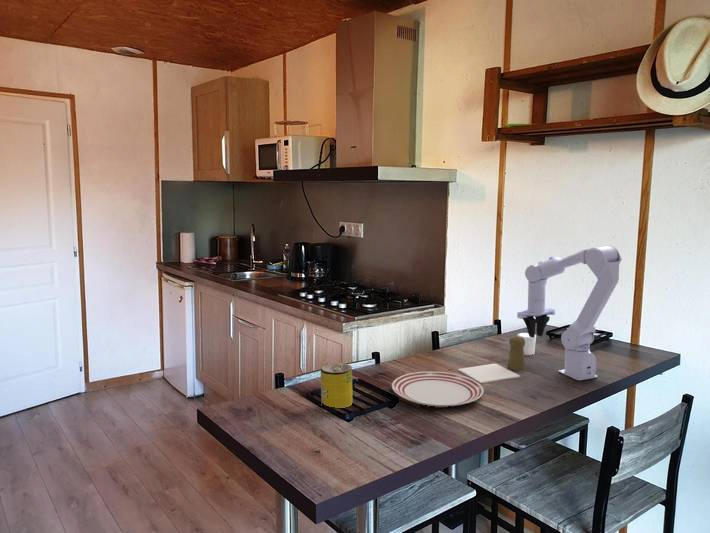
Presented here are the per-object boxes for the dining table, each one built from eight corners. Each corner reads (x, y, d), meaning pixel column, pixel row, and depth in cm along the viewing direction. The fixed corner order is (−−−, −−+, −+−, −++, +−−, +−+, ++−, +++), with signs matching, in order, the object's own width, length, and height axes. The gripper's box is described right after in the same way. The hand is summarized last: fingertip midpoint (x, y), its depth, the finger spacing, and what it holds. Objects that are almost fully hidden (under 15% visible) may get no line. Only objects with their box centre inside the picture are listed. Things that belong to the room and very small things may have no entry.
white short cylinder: (513, 351, 209) (513, 333, 208) (528, 349, 211) (529, 331, 210) (523, 356, 202) (524, 338, 201) (539, 354, 204) (540, 336, 203)
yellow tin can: (346, 399, 165) (345, 361, 163) (357, 410, 156) (356, 370, 155) (317, 404, 162) (316, 365, 160) (327, 416, 153) (326, 374, 152)
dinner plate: (485, 383, 176) (485, 373, 176) (481, 418, 150) (481, 406, 150) (401, 377, 183) (401, 367, 183) (383, 409, 157) (382, 398, 157)
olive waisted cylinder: (523, 365, 192) (524, 334, 191) (527, 371, 186) (528, 339, 185) (506, 365, 193) (506, 334, 191) (509, 370, 187) (509, 339, 185)
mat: (520, 377, 180) (520, 375, 180) (481, 383, 175) (481, 382, 175) (495, 364, 194) (495, 363, 193) (458, 370, 188) (458, 368, 188)
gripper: (545, 294, 199) (544, 331, 200) (512, 298, 194) (511, 335, 196) (559, 298, 192) (558, 336, 194) (524, 302, 187) (523, 340, 189)
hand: (535, 336), depth 194 cm, fingers open, 3 cm apart
